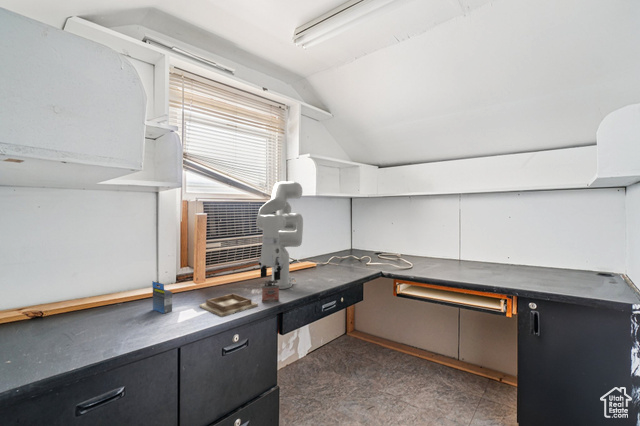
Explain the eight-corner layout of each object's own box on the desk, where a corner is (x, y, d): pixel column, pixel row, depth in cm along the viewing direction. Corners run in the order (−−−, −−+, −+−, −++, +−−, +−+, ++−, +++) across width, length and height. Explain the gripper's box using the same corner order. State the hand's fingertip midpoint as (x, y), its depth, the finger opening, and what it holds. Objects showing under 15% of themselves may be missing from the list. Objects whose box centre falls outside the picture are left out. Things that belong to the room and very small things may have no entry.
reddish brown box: (262, 303, 140) (262, 281, 140) (261, 301, 144) (261, 279, 143) (279, 301, 142) (279, 280, 142) (278, 299, 146) (278, 278, 145)
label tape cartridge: (172, 311, 129) (172, 282, 129) (163, 313, 126) (163, 284, 125) (160, 307, 134) (160, 279, 133) (152, 309, 130) (151, 281, 130)
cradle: (235, 297, 148) (235, 291, 148) (257, 306, 136) (257, 299, 136) (199, 306, 135) (199, 299, 135) (221, 316, 123) (221, 309, 123)
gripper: (289, 242, 139) (288, 279, 139) (265, 240, 151) (264, 274, 150) (276, 243, 134) (276, 282, 133) (252, 240, 145) (252, 277, 145)
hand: (270, 278), depth 142 cm, fingers open, 9 cm apart
